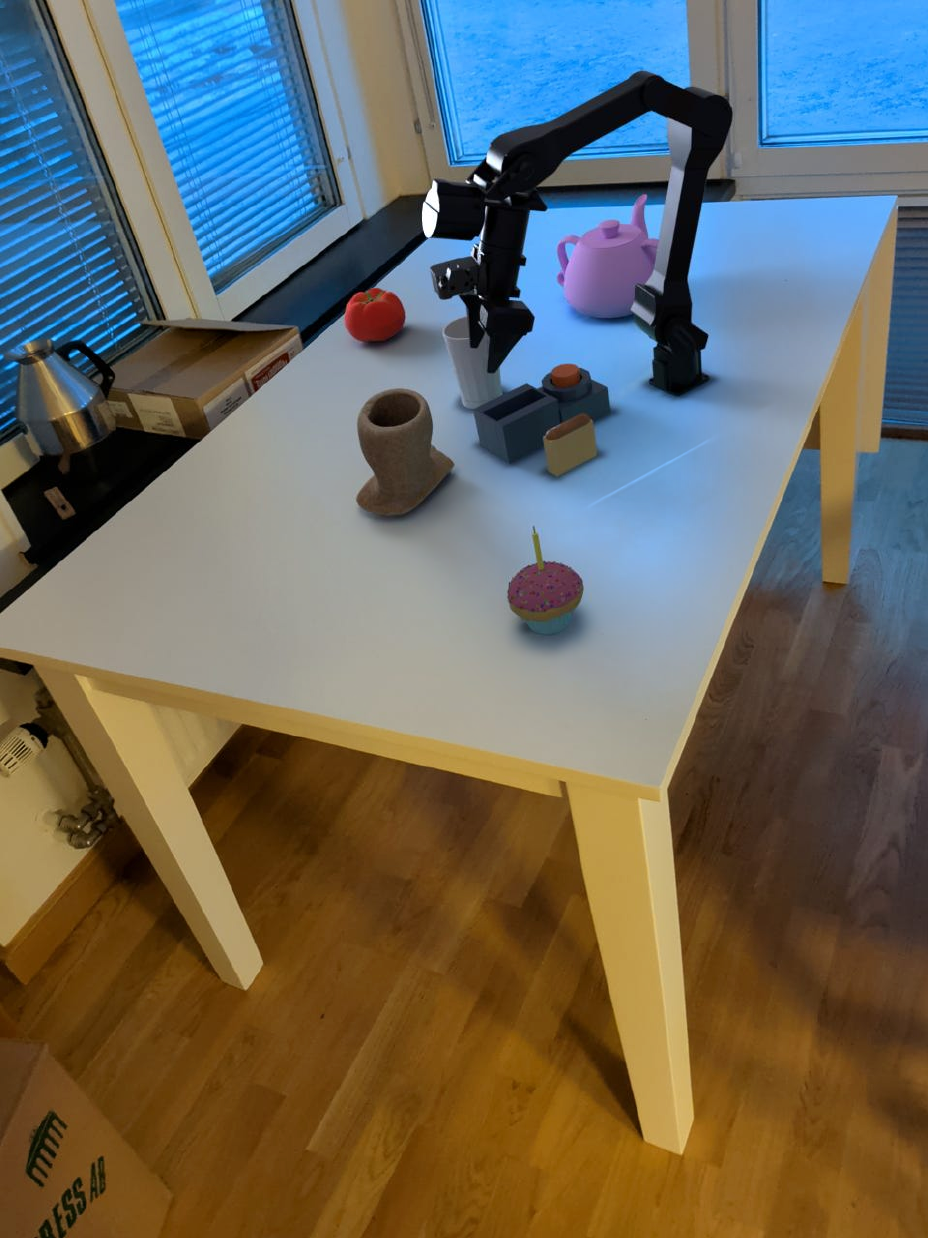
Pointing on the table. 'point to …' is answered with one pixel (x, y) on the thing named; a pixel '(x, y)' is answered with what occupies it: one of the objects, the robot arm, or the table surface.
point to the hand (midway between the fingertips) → (481, 360)
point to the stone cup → (398, 452)
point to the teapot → (608, 265)
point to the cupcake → (545, 593)
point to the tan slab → (570, 444)
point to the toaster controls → (579, 397)
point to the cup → (470, 366)
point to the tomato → (374, 315)
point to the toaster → (516, 422)
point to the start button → (565, 375)
